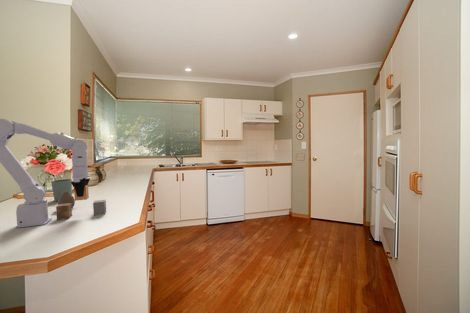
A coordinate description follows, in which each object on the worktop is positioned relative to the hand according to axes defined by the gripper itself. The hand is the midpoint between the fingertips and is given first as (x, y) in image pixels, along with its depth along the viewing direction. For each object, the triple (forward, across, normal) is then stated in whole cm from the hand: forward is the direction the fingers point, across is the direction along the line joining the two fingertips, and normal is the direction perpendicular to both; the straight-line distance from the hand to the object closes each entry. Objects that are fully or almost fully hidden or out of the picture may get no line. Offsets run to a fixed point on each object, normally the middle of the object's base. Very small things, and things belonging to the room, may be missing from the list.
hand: (81, 195), depth 105 cm
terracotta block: (+2, 0, 0) cm, 2 cm away
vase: (+10, +17, +10) cm, 22 cm away
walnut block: (+10, 0, +7) cm, 12 cm away
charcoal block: (+10, 0, -7) cm, 12 cm away
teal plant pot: (+10, +44, +20) cm, 49 cm away
